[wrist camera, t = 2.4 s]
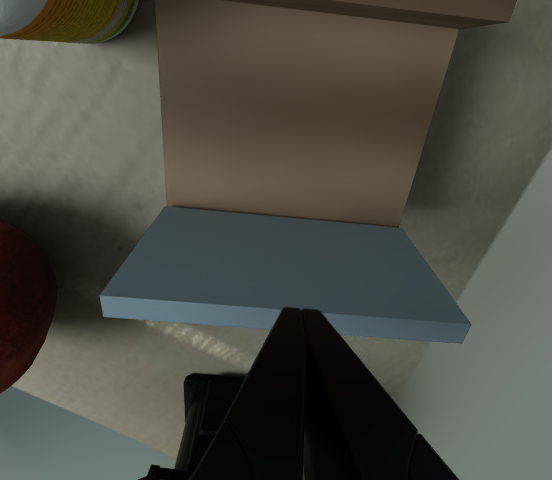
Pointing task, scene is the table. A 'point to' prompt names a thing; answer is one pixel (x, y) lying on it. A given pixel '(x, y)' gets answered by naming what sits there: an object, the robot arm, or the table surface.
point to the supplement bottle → (65, 19)
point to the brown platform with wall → (304, 101)
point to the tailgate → (282, 276)
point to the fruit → (22, 302)
